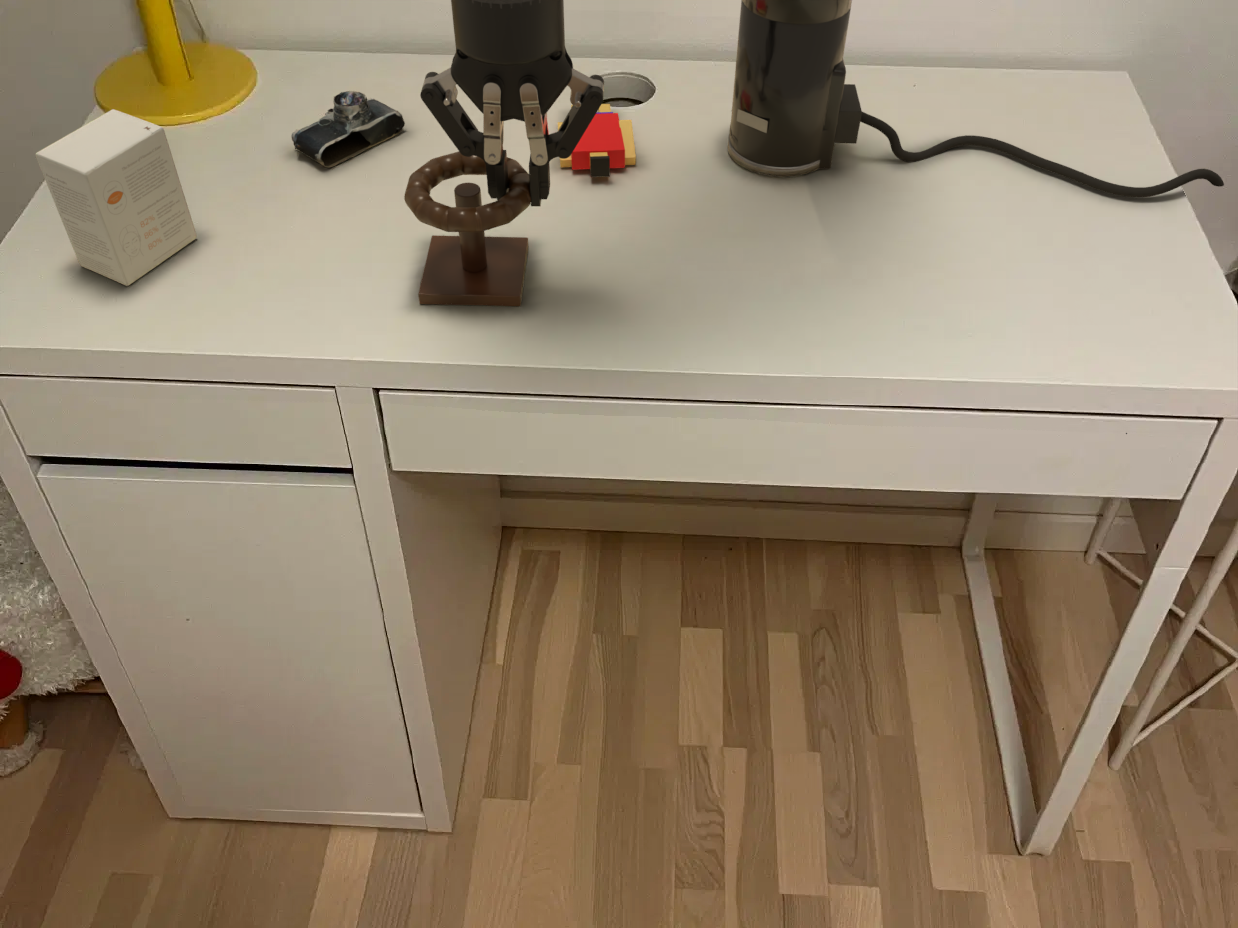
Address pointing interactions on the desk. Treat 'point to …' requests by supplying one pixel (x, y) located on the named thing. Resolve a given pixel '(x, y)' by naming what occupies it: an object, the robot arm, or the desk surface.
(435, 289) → the post
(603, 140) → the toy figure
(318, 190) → the desk surface
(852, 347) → the desk surface
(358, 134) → the camera
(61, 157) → the small box
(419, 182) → the ring
